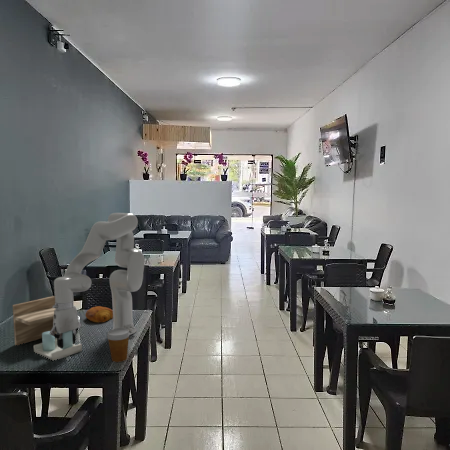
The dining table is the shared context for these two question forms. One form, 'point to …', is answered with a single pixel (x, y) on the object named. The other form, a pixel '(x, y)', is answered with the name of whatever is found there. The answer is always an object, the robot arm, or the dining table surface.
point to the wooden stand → (33, 319)
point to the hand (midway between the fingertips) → (66, 344)
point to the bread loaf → (99, 314)
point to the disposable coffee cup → (118, 344)
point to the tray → (57, 351)
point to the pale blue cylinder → (67, 339)
